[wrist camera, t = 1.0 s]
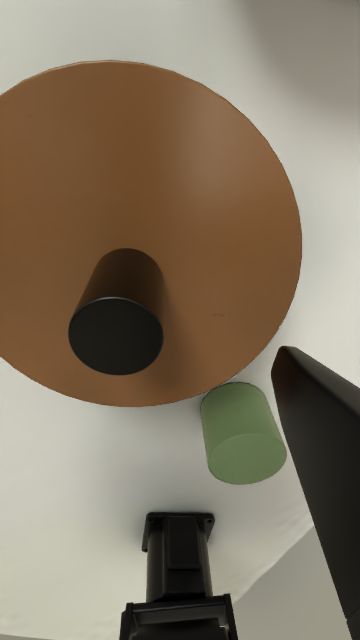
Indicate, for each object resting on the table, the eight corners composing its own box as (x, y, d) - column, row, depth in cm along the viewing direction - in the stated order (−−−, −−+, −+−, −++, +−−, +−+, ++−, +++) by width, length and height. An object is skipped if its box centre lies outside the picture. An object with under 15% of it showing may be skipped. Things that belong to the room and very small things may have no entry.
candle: (257, 432, 26) (274, 486, 22) (195, 429, 25) (201, 483, 21) (274, 384, 23) (297, 435, 19) (206, 379, 23) (216, 431, 19)
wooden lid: (248, 399, 17) (277, 491, 13) (-15, 382, 16) (-83, 479, 11) (344, 105, 11) (472, 88, 6) (-90, 26, 9) (-320, -69, 5)
